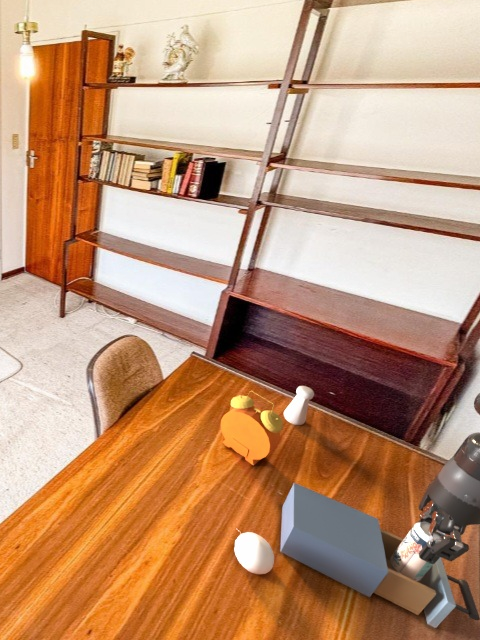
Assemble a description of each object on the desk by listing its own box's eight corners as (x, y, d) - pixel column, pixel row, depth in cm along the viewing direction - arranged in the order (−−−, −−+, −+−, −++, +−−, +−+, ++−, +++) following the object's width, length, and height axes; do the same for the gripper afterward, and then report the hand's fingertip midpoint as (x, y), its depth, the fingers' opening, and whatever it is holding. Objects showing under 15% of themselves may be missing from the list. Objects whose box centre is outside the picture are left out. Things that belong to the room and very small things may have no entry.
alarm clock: (270, 463, 108) (295, 408, 100) (259, 473, 105) (283, 417, 97) (225, 431, 118) (244, 378, 110) (213, 440, 115) (231, 386, 106)
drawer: (451, 587, 81) (471, 565, 78) (469, 646, 72) (493, 623, 69) (337, 534, 90) (351, 512, 87) (341, 581, 81) (356, 558, 78)
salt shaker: (286, 427, 121) (300, 394, 115) (278, 413, 126) (291, 381, 120) (306, 430, 120) (322, 397, 114) (298, 416, 125) (312, 384, 119)
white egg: (276, 579, 82) (288, 558, 79) (244, 584, 81) (254, 563, 78) (246, 531, 91) (255, 511, 88) (216, 535, 90) (224, 514, 87)
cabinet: (360, 546, 89) (378, 519, 85) (367, 600, 79) (388, 572, 75) (281, 509, 96) (294, 482, 92) (278, 554, 87) (293, 526, 82)
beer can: (390, 551, 82) (417, 514, 77) (421, 569, 79) (451, 532, 74) (388, 568, 79) (415, 531, 74) (419, 588, 76) (450, 550, 71)
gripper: (515, 534, 62) (459, 595, 69) (483, 469, 73) (438, 527, 80) (450, 508, 65) (404, 569, 72) (429, 450, 76) (390, 507, 83)
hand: (422, 546), depth 76 cm, fingers closed on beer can, 4 cm apart
